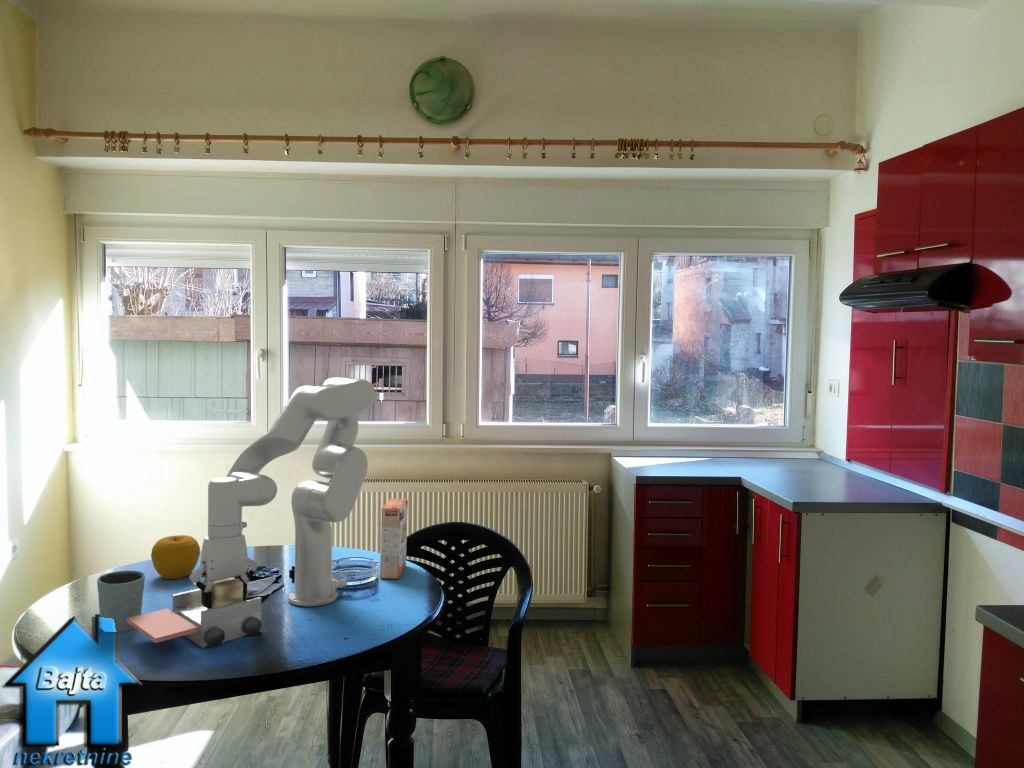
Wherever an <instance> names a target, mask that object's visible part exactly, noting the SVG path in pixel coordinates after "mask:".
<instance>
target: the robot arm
mask: <svg viewBox="0 0 1024 768" xmlns="http://www.w3.org/2000/svg"><path fill="white" fill-rule="evenodd" d="M376 396H377V393H376V389H375V387H374V385H373V383H371V382H370V381H368V380H366V379H362V378H353V377H351V378H350V377H342V376H341V377H340V376H339V377H338V376H337V377H331V378H330V377H329V378H327V379H326V380H325V381H324V382H323V383H322V385H321V386H318V385H301V386H300V387H297V388H296V389H295V390H294V391H293V392H292V394H291V396H290V398H289V399H288V401H287V402H286V403H285V405H284V407H283V408H282V410H281V412H280V413H279V414H278V416H277V418H276V419H275V421H274V422H273V424H272V426H271V427H270V429H269V430H268V431H267V432H266V433H264V434H263V435H262V436H261V437H258V438H257V440H255V441H254V442H252V443H251V444H250V445H249V446H247V447H246V449H244V450H243V451H242V452H241V453H240V455H239V456H238V457H237V459H236V460H235V461H234V463H233V465H232V466H231V468H230V469H229V471H228V472H227V475H226V476H221V477H216V478H213V479H211V480H210V481H209V482H208V487H207V536H204V538H203V541H202V546H201V550H200V561H199V567H197V568H196V570H193V571H192V572H191V574H190V575H188V578H189V580H190V581H191V582H192V584H193V585H194V586H195V587H197V589H200V590H202V605H203V606H204V607H206V608H208V609H211V608H212V592H211V591H210V589H211V587H212V585H213V583H214V581H218V580H222V579H227V578H232V577H233V578H236V577H237V579H238V580H239V581H241V582H243V601H245V600H247V595H248V584H249V583H250V580H251V578H252V577H253V576H254V574H255V572H256V570H257V569H258V567H259V566H260V565H259V562H257V561H255V560H253V559H251V558H249V556H248V547H247V546H248V545H247V540H246V537H245V533H244V531H243V530H244V529H245V528H248V527H247V526H248V523H247V521H243V507H262V506H265V505H268V504H269V503H271V502H272V501H274V499H275V498H276V497H277V494H278V485H277V483H276V481H275V480H274V479H272V477H270V476H268V475H265V474H262V473H261V474H260V472H261V471H262V470H263V469H264V467H265V466H266V465H268V464H269V463H271V462H272V461H273V460H275V459H277V458H280V457H283V456H286V455H288V454H290V453H293V452H295V451H297V450H298V449H299V448H300V447H301V446H302V445H301V444H302V443H303V442H304V440H305V439H306V437H307V435H308V434H309V432H310V430H311V428H312V427H313V425H314V424H315V422H316V421H317V420H319V421H320V420H321V421H327V423H326V427H325V430H324V432H323V434H322V437H321V439H320V442H319V444H318V445H317V446H318V447H317V449H316V451H315V454H314V457H313V459H312V464H311V465H312V470H313V472H314V473H315V474H316V475H317V476H319V477H323V478H324V479H329V480H331V482H330V483H329V482H325V481H320V480H314V479H311V480H309V479H308V480H303V481H302V482H300V483H298V484H297V485H296V486H295V488H294V489H293V491H292V492H291V493H292V494H291V500H290V503H291V508H292V509H291V511H292V515H293V521H294V590H293V591H292V592H290V593H289V595H287V596H288V597H287V599H288V602H289V603H290V604H292V605H295V606H297V607H309V608H310V607H321V606H325V605H329V604H331V603H333V602H335V601H337V599H338V591H337V589H338V588H340V587H345V586H347V585H348V580H347V578H339V579H338V578H337V577H336V578H332V575H333V574H332V572H333V571H332V570H333V569H332V568H333V567H332V566H333V563H332V562H333V559H332V558H333V556H332V555H333V530H332V529H333V528H332V524H331V523H340V522H342V521H344V520H346V519H347V518H348V517H349V515H350V514H351V512H352V511H353V509H354V506H355V504H356V501H357V499H358V497H359V494H360V492H361V489H362V486H363V485H364V481H365V479H366V476H367V473H368V467H369V463H368V462H369V461H368V457H367V455H366V453H365V452H364V450H363V449H361V448H359V447H357V446H355V442H356V440H357V436H358V433H359V420H358V417H357V414H359V413H362V412H365V411H367V410H369V409H370V408H371V407H372V406H373V405H374V403H375V400H376ZM199 577H201V578H203V579H202V581H201V580H200V578H199Z"/></svg>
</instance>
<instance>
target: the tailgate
mask: <svg viewBox="0 0 1024 768" xmlns="http://www.w3.org/2000/svg"><path fill="white" fill-rule="evenodd" d="M127 623H129V624H130V625H131V626H133V627H134V628H135V629H134V630H137V631H138V632H139V633H141V634H142V635H144V636H145V637H147V638H148V639H149V640H151V641H152V642H154V643H155V644H156V643H157V644H158V643H161V642H164V641H168V640H171V639H175V638H179V637H183V636H184V635H187V634H191V633H195V632H197V627H196V626H195V625H193V624H191V623H190V622H188V621H187V620H185V619H183V618H182V617H180V616H179V615H177V614H176V613H174V612H173V610H170V609H169V608H164V609H159V610H154V611H151V612H147V613H141V615H138V616H133V617H129V618H127Z"/></svg>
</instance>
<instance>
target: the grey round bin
mask: <svg viewBox="0 0 1024 768" xmlns="http://www.w3.org/2000/svg"><path fill="white" fill-rule="evenodd" d="M145 579H146V574H145V573H144V572H142V571H139V570H119V571H118V570H117V571H111V572H108V573H107V572H106V573H103V574H102V575H99V576H98V578H97V579H96V581H97V582H96V583H97V593H98V608H99V618H100V617H104V618H112V619H114V622H115V628H116V631H117V632H120V633H125V632H130V631H133V630H136V629H135V628H134V627H133V626H131V625H130V624H129V623H127V618H129V617H133V616H138V615H142V609H143V608H142V607H143V597H144V590H145V589H144V588H145V582H146V581H145Z"/></svg>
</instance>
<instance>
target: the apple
mask: <svg viewBox="0 0 1024 768" xmlns="http://www.w3.org/2000/svg"><path fill="white" fill-rule="evenodd" d="M200 556H201V547H200V545H199V542H198V540H197V539H195V538H194V537H193V536H190V535H184V534H182V535H181V534H179V535H170V536H165V537H162V538H160V539H158V540H157V541H156V543H155V544H154V545H153V547H152V549H151V553H150V557H151V561H152V565H153V567H154V570H155V571H156V572H157V573H158V575H160V577H162V578H163V579H166V580H178V579H182V578H185V577H189V576H190V575H191V574H192V573H193V572H194V569H195V568H196V566H197V563H198V561H199V558H200Z"/></svg>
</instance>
